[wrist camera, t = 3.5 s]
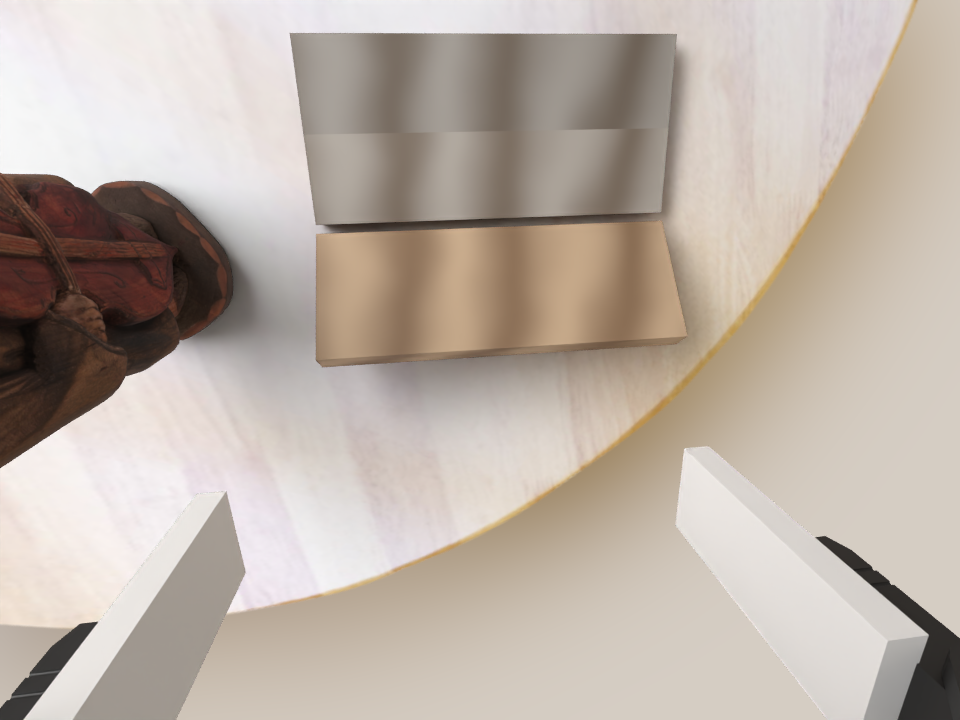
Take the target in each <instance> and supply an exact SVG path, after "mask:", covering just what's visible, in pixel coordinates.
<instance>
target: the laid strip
mask: <svg viewBox="0 0 960 720" xmlns="http://www.w3.org/2000/svg"><path fill="white" fill-rule="evenodd" d="M290 38H291V45H292V53H293V60H294V67H295V75H296V82H297V89H298V97H299V104H300V112H301V119H302V126H303V134H304V141H305V148H306V156H307V163H308V170H309V178H310V185H311V192H312V200H313V207H314V214H315V222H316V225H326V224H354V223H381V222H409V221H436V220H464V219H491V218H519V217H546V216H573V215H601V214H628V213H656V212H661V207H662V196H663V185H664V174H665V162H666V151H667V140H668V128H669V117H670V106H671V95H672V83H673V72H674V61H675V49H676V38H677V34H413V33H290Z"/></svg>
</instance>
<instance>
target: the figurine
mask: <svg viewBox="0 0 960 720" xmlns="http://www.w3.org/2000/svg"><path fill="white" fill-rule="evenodd" d="M232 295H233V279H232V273H231V268H230V264H229V260H228V258H227V256H226V254H225V252H224V250H223V248H222V247H221V246H220V245H219V243H218V242H217V241H216V240H215V239H214V238H213V236H212V235H211V234H210V233H209V232H208V231H207V230H206V229H205V227H204V226H203V225H202V224H201V223H200V222H199V221H198V220H197V219H196V218H195V217H194V216H193V215H192V214H191V213H190V212H189V211H188V210H187V209H186V208H185V206H184V205H183V204H181V203H180V202H179V201H178V200H177V199H176V198H174V197H173V196H172V195H170V194H169V193H167V192H166V191H164V190H162V189H161V188H159V187H157V186H155V185H153V184H151V183H148V182H145V181H117V182H110V183H106V184H103V185H101V186H99V187H98V188H97V189H96V190H95V191H93V193H92V194H90V193H89V192H87V191H85V190H83V189H81V188H78V187H75V186H74V185H73V184H72V183H70V182H69V181H67V180H65V179H63V178H61V177H59V176H55V175H47V174H2V173H0V468H1V467H3V466H4V465H6V464H7V463H9V462H10V461H12V460H13V459H15V458H16V457H18V456H19V455H21V454H22V453H24V452H25V451H27V450H29V449H30V448H32V447H33V446H35V445H36V444H38V443H39V442H41V441H42V440H43V439H45V438H47V437H48V436H50V435H51V434H53V433H54V432H56V431H57V430H59V429H60V428H62V427H63V426H65V425H67V424H68V423H70V422H71V421H73V420H75V419H76V418H78V417H80V416H81V415H83V414H85V413H86V412H88V411H90V410H91V409H93V408H94V407H96V406H98V405H99V404H101V403H102V402H104V401H105V400H107V399H108V398H109V397H110V396H112V395H113V394H114V393H115V391H116V390H117V389H118V388H119V387H120V385H121V384H122V382H123V380H124V378H125V376H129V375H132V374H135V373H138V372H141V371H144V370H146V369H148V368H149V367H151V366H152V365H153V364H155V363H156V362H158V361H159V360H160V359H162V358H164V357H165V356H167V355H168V354H170V353H171V352H172V351H173V350H175V348H176V347H177V345H178V344H179V340H185V339H187V338H189V337H191V336H193V335H195V334H196V333H198V332H200V331H201V330H203V329H204V328H206V327H207V326H208V325H210V324H211V323H212V322H213V321H215V320H216V319H217V318H218V317H219V316H220V315H221V314H222V313H223V312H224V311H225V309H226V308H227V307H228V305H229V303H230V301H231V299H232Z"/></svg>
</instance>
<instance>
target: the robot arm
mask: <svg viewBox="0 0 960 720" xmlns="http://www.w3.org/2000/svg"><path fill="white" fill-rule="evenodd" d="M676 527H677V528H678V529H679V531H680V532H681V533H682V534H683V536H684V537H685V538H686V539H687V541H688V542H689V543H690V545H691V546H692V547H693V548H694V550H695V551H696V552H697V553H698V555H699V556H700V557H701V559H702V560H703V561H704V563H705V564H706V565H707V566H708V568H709V569H710V570H711V571H712V573H713V574H714V575H715V577H716V578H717V579H718V580H719V582H720V583H721V584H722V586H723V587H724V588H725V589H726V591H727V592H728V593H729V595H730V596H731V597H732V598H733V600H734V601H735V602H736V603H737V605H738V606H739V607H740V608H741V610H742V611H743V613H744V614H745V615H746V616H747V618H748V619H749V620H750V621H751V623H752V624H753V625H754V627H755V628H756V629H757V630H758V632H759V633H760V634H761V636H762V637H763V638H764V639H765V641H766V642H767V643H768V644H769V646H770V647H771V648H772V650H773V651H774V652H775V653H776V655H777V656H778V657H779V659H780V660H781V661H782V662H783V664H784V665H785V666H786V668H787V669H788V670H789V671H790V673H791V674H792V675H793V676H794V678H795V679H796V680H797V682H798V683H799V684H800V685H801V687H802V688H803V689H804V691H805V692H806V693H807V694H808V696H809V697H810V698H811V699H812V701H813V702H814V703H815V705H816V706H817V707H818V709H819V710H820V711H821V712H822V714H823V715H824V716H825V718H826V719H827V720H960V638H959V637H957V636H956V635H955V634H954V633H953V632H951V631H950V630H949V629H948V628H946V627H945V626H944V625H943V624H942V623H940V622H939V621H938V620H936V619H935V618H934V617H933V616H932V615H930V614H929V613H928V612H927V611H926V610H924V609H923V608H922V607H921V606H919V605H918V604H917V603H916V602H914V601H913V600H912V599H911V598H910V597H908V596H907V595H906V594H905V593H903V592H902V591H901V590H900V589H899V588H897V587H896V586H895V585H891V584H890V582H889V580H887V579H886V578H885V577H884V576H882V575H881V574H880V573H879V572H877V571H874V570H873V569H872V567H871V566H870V565H869V564H868V563H867V562H865V561H864V560H863V559H862V558H860V557H859V556H858V555H857V554H856V553H854V552H853V551H852V550H850V549H848V548H847V547H845V546H843V545H841V544H839V543H837V542H835V541H833V540H832V539H830V538H828V537H826V536H822V537H814V536H813V535H812V534H810V533H809V532H808V531H806V529H805V528H803V527H802V526H801V525H800V524H798V522H796V521H795V520H794V519H793V518H792V517H790V516H789V515H788V514H787V513H786V512H785V511H783V510H782V509H781V508H780V507H779V506H778V505H777V504H775V503H774V502H773V501H772V500H771V499H770V498H768V497H767V496H766V495H765V494H764V493H763V492H761V491H760V490H759V489H758V488H757V487H755V486H754V485H753V484H752V483H751V482H750V481H748V480H747V479H746V478H745V477H744V476H743V475H742V474H740V473H739V472H738V471H737V470H736V469H734V468H733V467H732V466H731V465H730V464H728V463H727V462H726V461H725V460H724V459H723V458H722V457H721V456H719V455H718V454H717V453H716V452H715V451H713V450H712V449H711V448H710V447H709V446H705V447H694V448H684V455H683V465H682V472H681V482H680V490H679V499H678V508H677V516H676ZM245 573H246V572H245V567H244V563H243V559H242V555H241V551H240V547H239V542H238V538H237V534H236V530H235V526H234V522H233V517H232V513H231V509H230V505H229V501H228V497H227V492H226V491H222V492H211V493H200V494H196V495H195V497H194V498H193V499H192V501H191V502H190V503H189V504H188V506H187V507H186V508H185V510H184V511H183V512H182V514H181V515H180V516H179V518H178V519H177V520H176V521H175V523H174V524H173V525H172V527H171V528H170V529H169V531H168V532H167V533H166V535H165V536H164V537H163V538H162V540H161V541H160V542H159V544H158V545H157V546H156V548H155V549H154V550H153V551H152V553H151V554H150V555H149V557H148V558H147V559H146V561H145V562H144V563H143V565H142V566H141V567H140V568H139V570H138V571H137V572H136V574H135V575H134V576H133V578H132V579H131V580H130V581H129V583H128V584H127V585H126V587H125V588H124V589H123V591H122V592H121V593H120V595H119V596H118V597H117V598H116V600H115V601H114V602H113V604H112V605H111V606H110V608H109V609H108V610H107V612H106V613H105V614H104V615H103V617H102V618H101V619H100V621H99V622H92V623H83V624H79V625H78V626H77V627H76V628H74V629H73V630H72V631H71V632H69V633H68V634H67V635H66V636H64V637H63V638H62V639H61V640H59V641H58V642H57V643H56V644H54V645H53V646H52V647H51V648H50V649H49V650H48V652H47V653H46V654H45V655H44V656H43V658H42V659H41V660H40V661H39V662H38V664H37V665H36V666H35V667H34V668H33V670H32V671H31V672H30V676H29V678H25V679H24V680H23V682H22V683H21V684H20V685H19V686H18V688H17V689H16V690H15V692H14V693H13V694H12V697H11V699H10V700H7V701H6V702H5V703H4V705H3V706H2V707H1V708H0V720H176V718H177V717H178V714H179V712H180V710H181V708H182V706H183V704H184V702H185V700H186V698H187V695H188V693H189V691H190V689H191V687H192V685H193V683H194V681H195V679H196V677H197V674H198V672H199V670H200V668H201V666H202V664H203V662H204V660H205V657H206V655H207V653H208V651H209V649H210V647H211V645H212V643H213V640H214V638H215V636H216V634H217V632H218V630H219V628H220V626H221V624H222V622H223V619H224V617H225V615H226V613H227V611H228V609H229V607H230V605H231V602H232V600H233V598H234V596H235V594H236V592H237V590H238V588H239V586H240V583H241V581H242V579H243V577H244V575H245Z"/></svg>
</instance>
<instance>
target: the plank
mask: <svg viewBox="0 0 960 720" xmlns="http://www.w3.org/2000/svg"><path fill="white" fill-rule="evenodd" d="M686 337H687V331H686V327H685V322H684V318H683V313H682V309H681V304H680V300H679V295H678V291H677V286H676V282H675V277H674V273H673V268H672V264H671V259H670V255H669V250H668V246H667V241H666V237H665V232H664V228H663V223H662V221H645V222H619V223H593V224H567V225H540V226H514V227H488V228H462V229H436V230H410V231H384V232H358V233H332V234H316V361H317V362H318V363H319V364H320V365H321V366H322V367H333V366H349V365H364V364H379V363H394V362H410V361H425V360H440V359H456V358H471V357H486V356H501V355H517V354H532V353H547V352H563V351H578V350H593V349H608V348H624V347H639V346H654V345H669V344H677V343H678V342H680V341H681V340H683V339H684V338H686Z"/></svg>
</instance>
